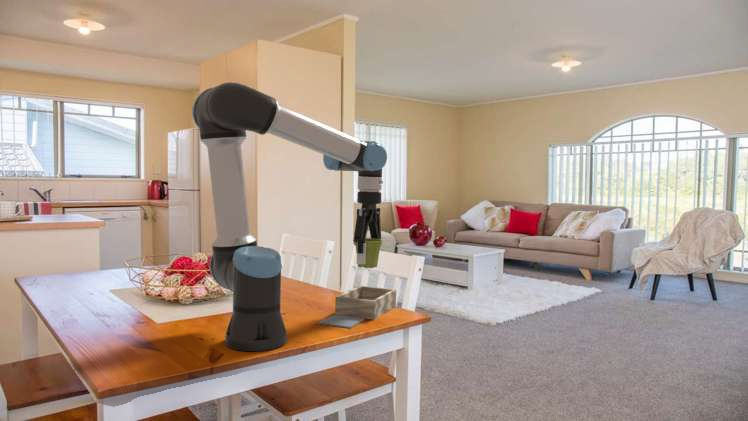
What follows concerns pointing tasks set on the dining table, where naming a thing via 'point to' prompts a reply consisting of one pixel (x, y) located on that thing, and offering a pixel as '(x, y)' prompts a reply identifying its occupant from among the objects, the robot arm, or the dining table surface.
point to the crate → (365, 302)
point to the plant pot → (371, 252)
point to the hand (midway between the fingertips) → (367, 261)
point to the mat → (342, 321)
